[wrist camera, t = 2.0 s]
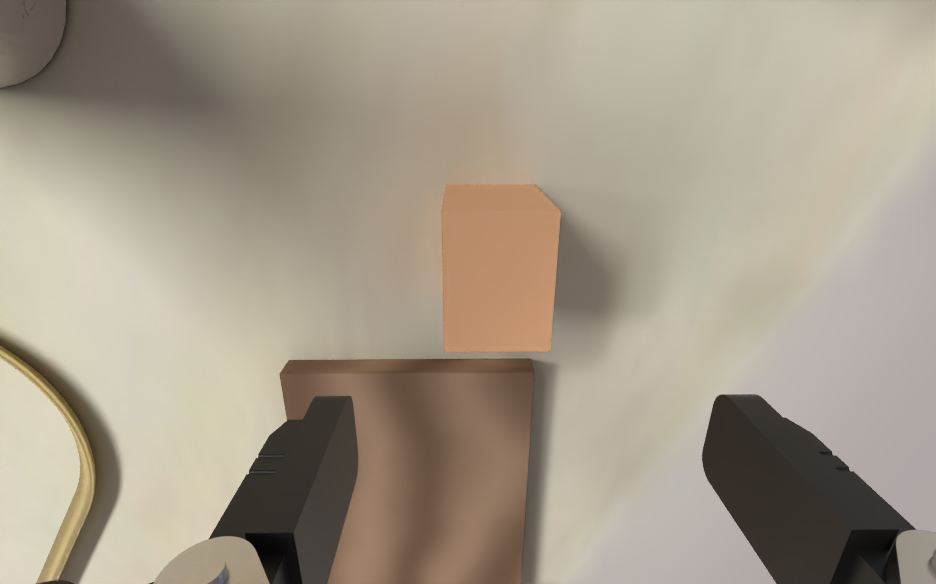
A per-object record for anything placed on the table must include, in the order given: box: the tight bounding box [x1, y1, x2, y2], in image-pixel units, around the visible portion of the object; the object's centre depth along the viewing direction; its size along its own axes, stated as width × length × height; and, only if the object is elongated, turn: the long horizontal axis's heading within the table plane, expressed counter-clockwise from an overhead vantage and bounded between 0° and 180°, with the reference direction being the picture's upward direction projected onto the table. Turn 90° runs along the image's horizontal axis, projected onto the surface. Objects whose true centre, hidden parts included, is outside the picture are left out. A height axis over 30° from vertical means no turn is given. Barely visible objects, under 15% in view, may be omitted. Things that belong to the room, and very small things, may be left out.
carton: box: [442, 185, 561, 352], centre depth 22 cm, size 5×6×6 cm
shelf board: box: [280, 359, 534, 584], centre depth 29 cm, size 14×19×3 cm
